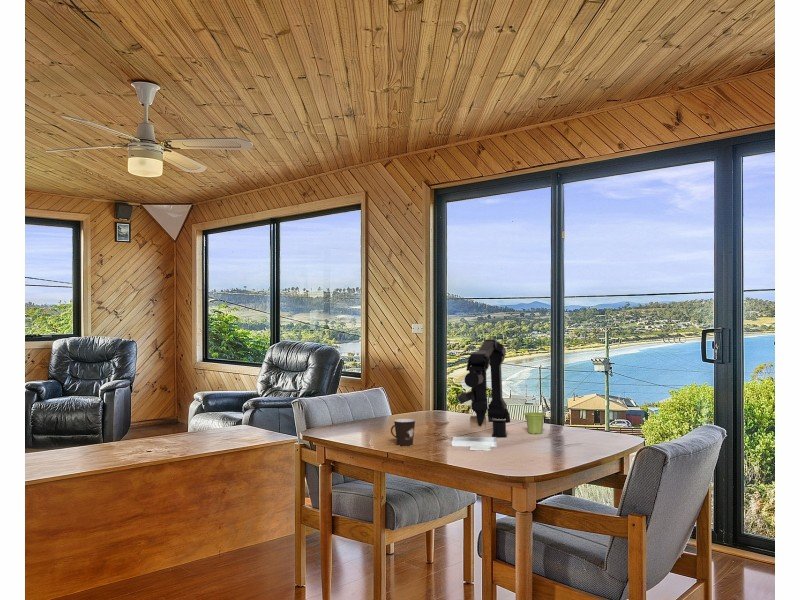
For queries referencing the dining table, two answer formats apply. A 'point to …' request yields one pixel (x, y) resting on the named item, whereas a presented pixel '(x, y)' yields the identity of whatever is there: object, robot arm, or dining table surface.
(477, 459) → the dining table surface
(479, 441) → the channel
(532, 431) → the plant pot
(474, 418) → the block
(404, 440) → the coffee mug
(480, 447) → the coaster
